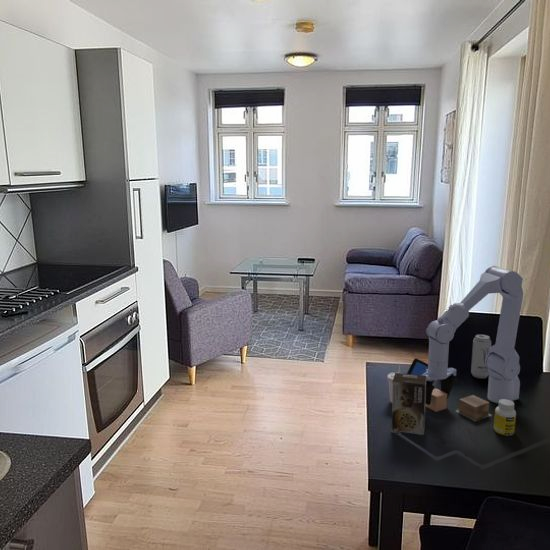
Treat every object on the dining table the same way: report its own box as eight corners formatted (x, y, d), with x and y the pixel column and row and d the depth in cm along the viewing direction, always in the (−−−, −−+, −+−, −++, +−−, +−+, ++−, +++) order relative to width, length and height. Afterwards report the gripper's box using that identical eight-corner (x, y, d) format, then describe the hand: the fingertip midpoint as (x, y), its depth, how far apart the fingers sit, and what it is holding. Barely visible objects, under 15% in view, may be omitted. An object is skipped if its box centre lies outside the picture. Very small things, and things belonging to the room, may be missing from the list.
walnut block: (472, 406, 156) (473, 394, 155) (488, 414, 151) (489, 402, 150) (458, 411, 153) (459, 399, 152) (474, 419, 148) (475, 407, 147)
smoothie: (407, 409, 157) (408, 367, 154) (386, 408, 158) (387, 366, 155) (406, 400, 163) (407, 360, 160) (386, 399, 164) (387, 359, 161)
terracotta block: (435, 402, 159) (436, 388, 158) (446, 408, 155) (447, 393, 154) (425, 406, 157) (425, 391, 156) (435, 412, 153) (436, 397, 152)
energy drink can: (480, 380, 177) (482, 340, 174) (467, 374, 183) (469, 335, 180) (492, 377, 180) (495, 337, 177) (479, 371, 185) (482, 332, 182)
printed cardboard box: (424, 426, 146) (427, 375, 143) (423, 437, 140) (426, 384, 137) (393, 422, 149) (394, 371, 146) (390, 432, 143) (392, 380, 140)
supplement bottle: (505, 440, 138) (508, 408, 136) (489, 432, 143) (491, 400, 141) (518, 435, 140) (521, 403, 138) (501, 427, 145) (504, 396, 143)
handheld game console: (390, 382, 178) (391, 362, 176) (414, 376, 182) (415, 357, 181) (413, 396, 167) (414, 375, 165) (438, 389, 171) (439, 369, 169)
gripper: (445, 351, 160) (442, 390, 162) (411, 359, 153) (409, 400, 156) (462, 358, 154) (459, 399, 156) (427, 367, 147) (425, 410, 150)
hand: (435, 400), depth 156 cm, fingers open, 7 cm apart
